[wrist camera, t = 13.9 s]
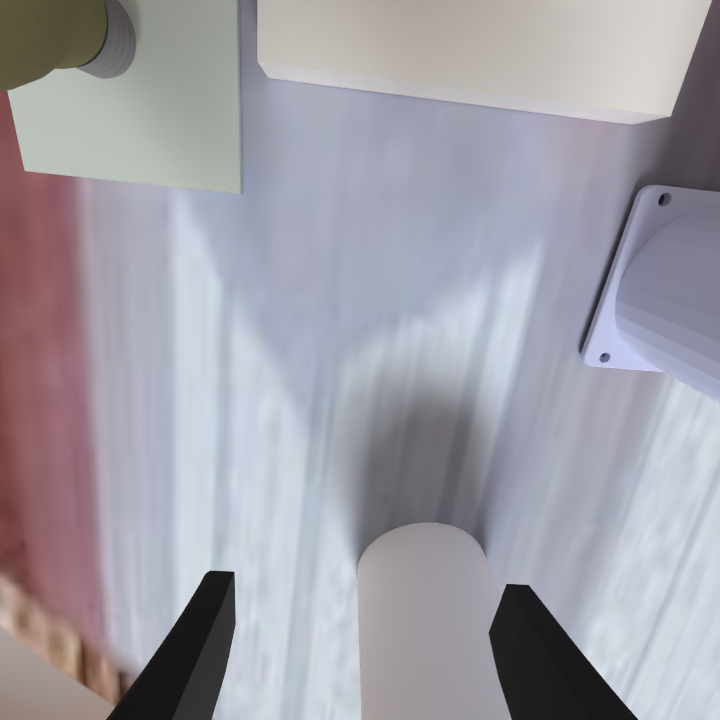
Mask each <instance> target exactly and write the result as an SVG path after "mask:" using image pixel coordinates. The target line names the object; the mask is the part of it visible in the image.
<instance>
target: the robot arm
mask: <svg viewBox="0 0 720 720" xmlns="http://www.w3.org/2000/svg"><path fill="white" fill-rule="evenodd" d="M662 194H664V201H663V202H662V204H660V205H659V203H658V201H659V198H660V196H661V195H662ZM603 353H605V356H604V358H602V359H600V356H601V355H602V354H603ZM580 357H581V360H582V361H583V362H584V363H585V364H587V365H589V366H595V367H608V368H620V369H633V370H645V371H658V372H665V373H667V374H669V375H670V376H672V377H674V378H676V379H677V380H679V381H681V382H683V383H684V384H686V385H688V386H689V387H691V388H693V389H695V390H696V391H698V392H700V393H702V394H703V395H705V396H707V397H709V398H710V399H712V400H714V401H715V402H717V403H719V404H720V192H713V191H705V190H696V189H688V188H680V187H671V186H663V185H647V186H645V187H643V188H642V189H641V190H640V191H639V192H638V194H637V196H636V198H635V201H634V204H633V207H632V209H631V212H630V215H629V218H628V221H627V224H626V227H625V229H624V232H623V235H622V238H621V241H620V244H619V246H618V249H617V252H616V255H615V258H614V261H613V264H612V266H611V269H610V272H609V275H608V278H607V281H606V283H605V286H604V289H603V292H602V295H601V298H600V301H599V303H598V306H597V309H596V312H595V315H594V318H593V320H592V323H591V326H590V329H589V332H588V335H587V337H586V340H585V343H584V346H583V349H582V352H581V356H580ZM235 624H236V622H235V577H234V572H228V571H209V572H207V573H206V574H205V576H204V578H203V579H202V581H201V583H200V585H199V586H198V588H197V590H196V592H195V593H194V595H193V597H192V598H191V600H190V602H189V603H188V605H187V606H186V608H185V610H184V611H183V613H182V614H181V616H180V617H179V619H178V620H177V622H176V623H175V625H174V626H173V628H172V630H171V631H170V633H169V634H168V635H167V637H166V638H165V640H164V641H163V643H162V644H161V646H160V647H159V648H158V650H157V651H156V653H155V654H154V656H153V657H152V659H151V660H150V661H149V663H148V664H147V666H146V667H145V668H144V670H143V671H142V673H141V674H140V675H139V677H138V678H137V679H136V681H135V682H134V683H133V685H132V686H131V687H130V689H129V690H128V691H127V693H126V694H125V695H124V697H123V698H122V699H121V701H120V702H119V703H118V705H117V706H116V707H115V709H114V710H113V711H112V713H111V714H110V715H109V717H108V718H107V719H106V720H211V719H212V716H213V712H214V709H215V706H216V702H217V699H218V696H219V692H220V689H221V686H222V682H223V679H224V675H225V672H226V667H227V662H228V658H229V653H230V648H231V644H232V639H233V634H234V629H235ZM489 638H490V643H491V647H492V652H493V657H494V661H495V665H496V670H497V674H498V678H499V681H500V685H501V688H502V691H503V694H504V697H505V700H506V703H507V706H508V709H509V713H510V716H511V719H512V720H638V719H637V718H636V717H635V715H634V714H633V713H632V712H631V711H630V710H629V709H628V707H627V706H626V705H625V704H624V703H623V702H622V701H621V699H620V698H619V697H618V696H617V695H616V693H615V692H614V691H613V690H612V689H611V688H610V686H609V685H608V684H607V683H606V682H605V680H604V679H603V678H602V677H601V675H600V674H599V673H598V672H597V671H596V669H595V668H594V667H593V666H592V665H591V663H590V662H589V661H588V660H587V658H586V657H585V656H584V655H583V654H582V652H581V651H580V650H579V649H578V647H577V646H576V645H575V644H574V642H573V641H572V640H571V638H570V637H569V636H568V635H567V633H566V632H565V631H564V630H563V628H562V627H561V626H560V624H559V623H558V622H557V621H556V619H555V618H554V617H553V615H552V614H551V613H550V612H549V610H548V609H547V608H546V606H545V605H544V604H543V603H542V601H541V600H540V599H539V598H538V596H537V595H536V594H535V592H534V591H533V590H532V589H531V587H530V586H529V585H517V584H507V585H506V587H505V590H504V593H503V595H502V598H501V601H500V603H499V606H498V609H497V611H496V614H495V617H494V619H493V622H492V625H491V627H490V630H489Z"/></svg>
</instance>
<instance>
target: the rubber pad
mask: <svg viewBox="0 0 720 720" xmlns="http://www.w3.org/2000/svg"><path fill="white" fill-rule="evenodd" d="M118 1H119V2H120V3H121V5H122V6H123V7H124V9H125V10H126V12H127V14H128V15H129V17H130V20H131V22H132V24H133V28H134V31H135V37H136V51H135V56H134V59H133V61H132V63H131V65H130V67H129V68H128V69H127V70H126V72H124V73H123V74H122V75H119V76H117V77H114V78H109V79H103V78H98V77H95V76H93V75H90V74H88V73H86V72H84V71H81V70H79V69H77V68H69V69H54V70H53V71H51V72H50V73H49V74H47V75H46V76H45V77H43V78H41V79H38V80H36V81H33V82H31V83H28V84H25V85H23V86H20V87H18V88H15V89H12V90H8V95H9V100H10V104H11V109H12V114H13V118H14V123H15V128H16V132H17V137H18V142H19V146H20V151H21V156H22V160H23V165H24V170H25V171H30V172H40V173H49V174H58V175H68V176H77V177H86V178H96V179H105V180H114V181H124V182H133V183H142V184H152V185H161V186H170V187H180V188H189V189H198V190H208V191H217V192H226V193H236V194H243V191H242V130H241V68H240V6H239V0H118Z"/></svg>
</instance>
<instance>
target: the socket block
mask: <svg viewBox="0 0 720 720" xmlns="http://www.w3.org/2000/svg"><path fill="white" fill-rule="evenodd" d="M711 2H712V0H257V62H258V63H259V65H260V66H261V68H262V69H263V71H264V72H265V74H266V75H267V76H268V78H272V79H280V80H288V81H296V82H303V83H311V84H319V85H327V86H334V87H342V88H350V89H358V90H365V91H373V92H381V93H388V94H396V95H404V96H412V97H419V98H427V99H435V100H443V101H450V102H458V103H466V104H474V105H481V106H489V107H497V108H505V109H512V110H520V111H528V112H536V113H543V114H551V115H559V116H567V117H574V118H582V119H590V120H598V121H605V122H613V123H621V124H629V125H634V124H638V123H643V122H647V121H652V120H657V119H661V118H666V117H670V116H671V114H672V111H673V108H674V105H675V103H676V100H677V97H678V94H679V91H680V89H681V86H682V83H683V80H684V77H685V75H686V72H687V69H688V66H689V63H690V61H691V58H692V55H693V52H694V49H695V47H696V44H697V41H698V38H699V35H700V33H701V30H702V27H703V24H704V21H705V19H706V16H707V13H708V10H709V7H710V5H711Z"/></svg>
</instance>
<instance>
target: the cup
mask: <svg viewBox="0 0 720 720" xmlns="http://www.w3.org/2000/svg"><path fill="white" fill-rule="evenodd" d="M357 592H358V623H359V654H360V685H361V716H362V720H512V719H511V716H510V713H509V709H508V706H507V703H506V700H505V697H504V694H503V691H502V688H501V685H500V681H499V678H498V674H497V670H496V665H495V661H494V657H493V652H492V647H491V643H490V638H489V630H490V627H491V625H492V622H493V619H494V617H495V614H496V611H497V609H498V606H499V603H500V601H501V596H500V594H499V591H498V588H497V586H496V583H495V580H494V578H493V575H492V573H491V570H490V567H489V565H488V562H487V559H486V557H485V554H484V552H483V550H482V548H481V546H480V544H479V543H478V542H477V541H476V540H475V539H474V538H473V537H472V536H471V535H470V534H468V533H466V532H465V531H463V530H461V529H459V528H456V527H454V526H451V525H446V524H441V523H429V522H424V523H415V524H409V525H405V526H401V527H398V528H396V529H393V530H391V531H389V532H386V533H385V534H383V535H382V536H380V537H378V538H377V539H376V540H375V541H373V542H372V543H371V544H370V545H369V546H368V547H367V549H366V550H365V551H364V553H363V554H362V556H361V558H360V561H359V563H358V568H357Z"/></svg>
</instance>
